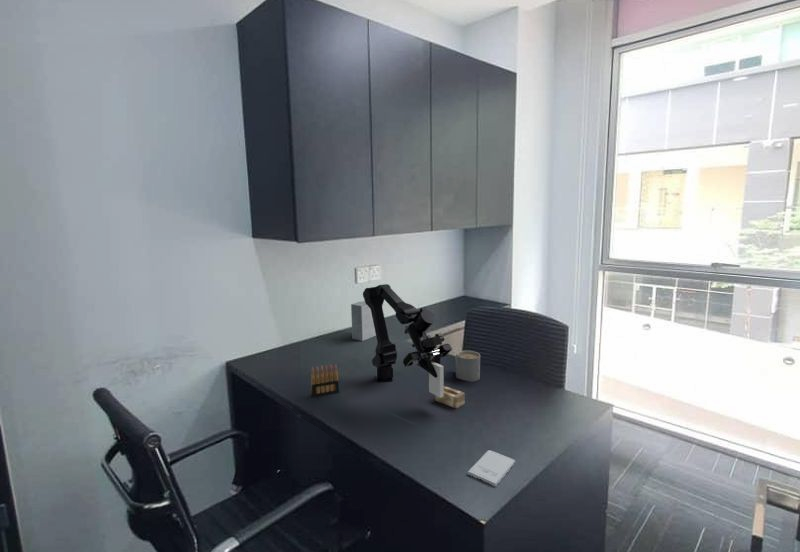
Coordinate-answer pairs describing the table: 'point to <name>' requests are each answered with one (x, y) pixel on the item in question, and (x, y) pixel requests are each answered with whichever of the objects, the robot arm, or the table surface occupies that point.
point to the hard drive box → (362, 321)
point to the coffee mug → (468, 365)
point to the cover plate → (437, 380)
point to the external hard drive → (491, 467)
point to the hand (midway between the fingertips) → (438, 376)
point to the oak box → (452, 397)
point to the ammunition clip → (324, 381)
